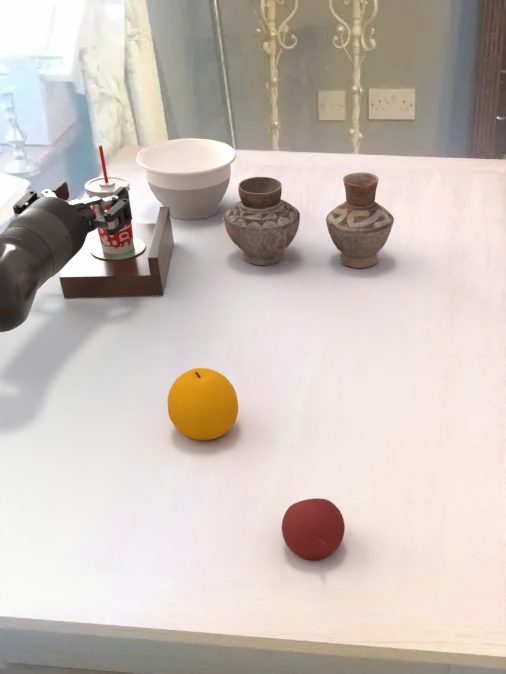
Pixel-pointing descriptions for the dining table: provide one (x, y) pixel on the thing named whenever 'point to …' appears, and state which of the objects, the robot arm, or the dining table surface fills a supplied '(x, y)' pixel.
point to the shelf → (122, 264)
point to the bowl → (188, 175)
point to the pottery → (283, 221)
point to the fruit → (313, 528)
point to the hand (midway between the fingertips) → (94, 191)
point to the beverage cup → (104, 189)
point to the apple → (202, 404)
